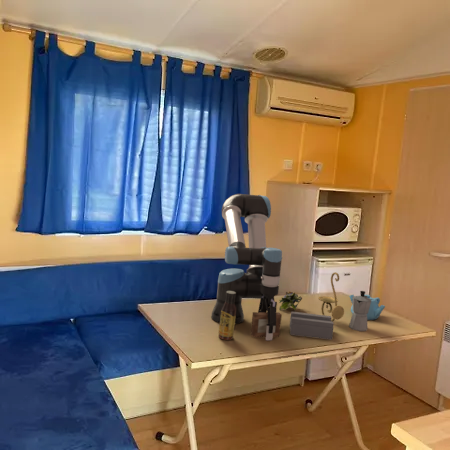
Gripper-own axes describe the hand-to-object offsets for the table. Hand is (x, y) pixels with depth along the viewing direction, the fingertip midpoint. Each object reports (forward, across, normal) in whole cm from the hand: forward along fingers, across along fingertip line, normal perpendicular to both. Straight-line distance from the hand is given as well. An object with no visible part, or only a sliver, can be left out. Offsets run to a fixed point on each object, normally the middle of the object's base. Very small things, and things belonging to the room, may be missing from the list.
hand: (265, 335), depth 196 cm
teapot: (0, -26, +63) cm, 68 cm away
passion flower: (0, -34, +25) cm, 43 cm away
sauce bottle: (0, +2, -18) cm, 18 cm away
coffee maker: (0, -9, +50) cm, 51 cm away
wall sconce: (0, -17, +38) cm, 42 cm away
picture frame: (0, 0, 0) cm, 0 cm away
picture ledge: (0, -4, +23) cm, 23 cm away
